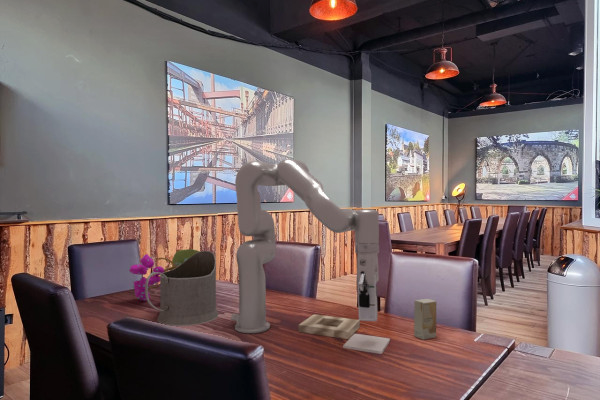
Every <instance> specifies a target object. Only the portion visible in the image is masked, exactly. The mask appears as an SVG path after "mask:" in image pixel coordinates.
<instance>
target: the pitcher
mask: <svg viewBox="0 0 600 400" xmlns="http://www.w3.org/2000/svg"><path fill="white" fill-rule="evenodd" d="M216 261H217V260H216V256H215V253H213V252H212V251H210V250H202V251H200V252H197V253H196V254H194V255H193V256H191V257H190V258H188V259H187V260H186V261H185V262H183V263H182V264H181V265H179V266H178V267H176V268H175V269H173V270H168V271H166V272H164V273H158V272H154V273H152V272H151V273H150V274H149V275H148V276H147V280H146V284H145V294H146V299H147V301H146V302H147V303H148V304H149V306H151V307H152V308H153V309H155V310H158V311H159V314H158V316H157V322H158V323H160V324H161V323H162V325H165V324H167V325H166V326H171V325H172V326H173V327H186V326H187V327H189V326H196V325H201V324H205V323H206V324H207V323H209V322H211V321H214V320H216V319H217V318H218V317H219V315H220V314H219V311H218V310H217V271H216V270H217V262H216ZM155 274H160V275H159V276H160V282H159V286H160V287H159V289H160V290H159V291H160V299H159V301H160V302H159V303H160V306H159V307H160V308H159V307H156V306H155V305H154V304H153V303H152V302H151V300H150V299H149V297H148V292H149V289H148V288H149V287H148V281H149V279H150V277H152V276H154V275H155Z"/></svg>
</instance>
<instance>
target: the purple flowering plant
mask: <svg viewBox="0 0 600 400" xmlns="http://www.w3.org/2000/svg"><path fill="white" fill-rule="evenodd" d="M197 252H201V251H200V250H198V249H197V250H196V249H192V248H188V249H180V250H179V249H178V250H177V251H175V253H174V255H173V257H172V260H171V259H168V258H167V257H166V258H165V257H157V258H154V259H153V257H152V256H150V255H149V254H147V253H145V255H143V257H141V259H140V260H139V262H140V263H138V264H132V265H131V266H130V267H129V273H131V274H133V275H142V277H140V278H139V280H138V279H137V280H134V281H133V286H132V288H134V295H135V297H136V298H137V299H138V300H140V301H142V302H148V301H147V299H146V294H145V284H146V280H147V278H148V277H147V278H146V277H145V276H144V275H147V274H148V271H149V269H152V268H153V270H152V272H151V273H154V272H158V273H164V272H167V271H170V270H173V269H175V268H176V267H178V266H179V265H181V264H182V263H183V262H185V261H186V260H187V259H188V258H190V257H191V256H193V255H194V254H196V253H197ZM159 260H165V261H168V262H169V263H170V264H168V265H167V266H166V267H164V268H163V266H161V265H159V266H155V267H153V266H154V264H155V262H158V261H159ZM157 283H160V274H153V275H152V276H151V277H150V279H149V281H148V290H149V289H150V290H151V289H155V288H156V289H157V288H160V285H157ZM155 284H156V285H155ZM148 297H149V300H150V299H151V294H150V292H149V291H148Z"/></svg>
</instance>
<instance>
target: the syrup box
mask: <svg viewBox="0 0 600 400" xmlns="http://www.w3.org/2000/svg"><path fill="white" fill-rule="evenodd" d="M364 284H367V283H364ZM365 288H366V287H365ZM377 289H378V288H377V283H376V276H375V275H374V285H373V286H370V285H369V293H368V294H369V295H370V307H369V308H365V307H360V306H359V284H358V283H357V304H358V306H357V307H358V309H357V310H358V320H360V322H361V321H363V322H377V321H378V314H379V313H378V291H377Z"/></svg>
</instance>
